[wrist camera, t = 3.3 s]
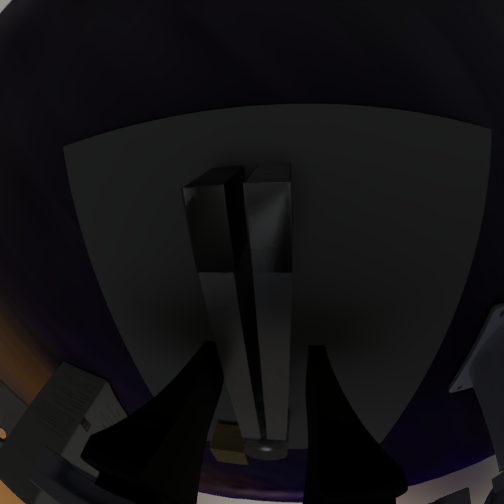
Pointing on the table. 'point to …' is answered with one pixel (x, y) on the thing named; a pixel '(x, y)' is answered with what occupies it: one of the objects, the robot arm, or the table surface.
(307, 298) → the mat
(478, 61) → the table surface
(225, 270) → the bar
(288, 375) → the tongs fixed
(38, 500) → the skincare box
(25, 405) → the phone holder
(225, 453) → the block
